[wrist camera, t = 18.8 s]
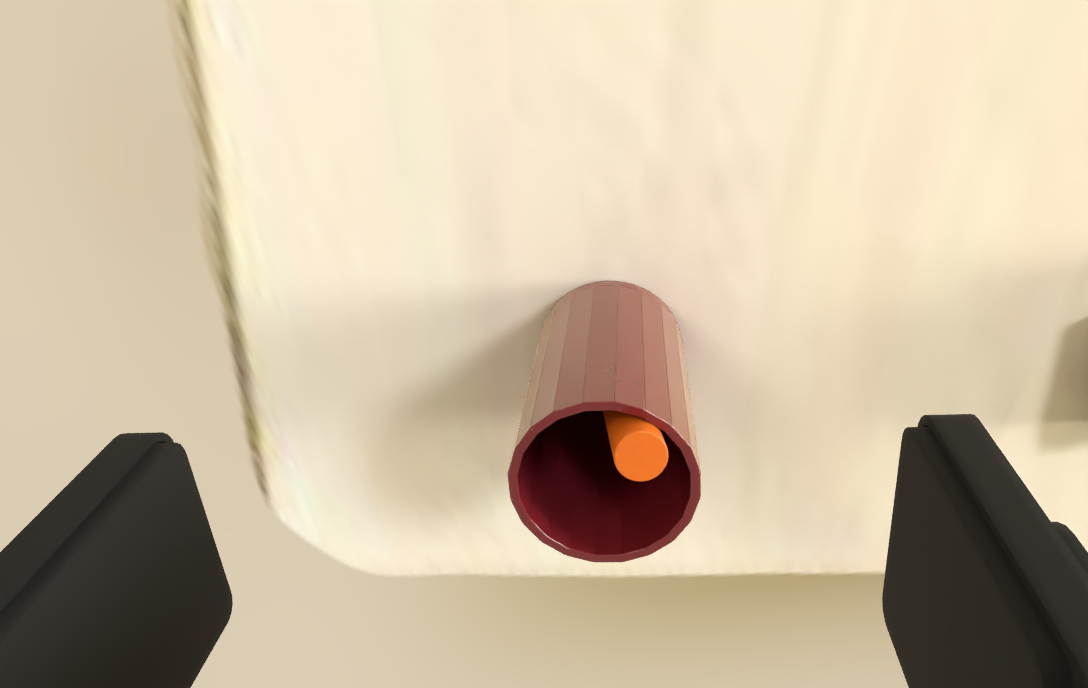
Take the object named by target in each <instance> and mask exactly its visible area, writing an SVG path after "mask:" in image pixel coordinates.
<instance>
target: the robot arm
mask: <svg viewBox="0 0 1088 688" xmlns="http://www.w3.org/2000/svg"><path fill="white" fill-rule="evenodd" d="M882 599H883V613H884V618H885V622H886V626H887V629H888V632H889V634H890V637H891V640H892V643H893V645H894V648H895V650H896V654H897V656H898V659H899V662H900V665H901V667H902V670H903V673H904V675H905V678H906V681H907V684H908V686H909V688H1088V552H1087V551H1086V550H1085V548H1084V547H1083V546H1082V544H1081V543H1080V541H1079V540H1078V539H1077V537H1076V536H1075V535H1074V534H1073V533H1072V531H1071V530H1070V529H1069V528H1068V527H1067V526H1066V525H1063V524H1061V523H1058V522H1051V521H1050V520H1049V519H1048V517H1047V516H1046V514H1045V513H1044V511H1043V510H1042V509H1041V507H1040V506H1039V504H1038V503H1037V501H1036V500H1035V499H1034V497H1033V496H1032V494H1031V493H1030V492H1029V490H1028V489H1027V487H1026V486H1025V484H1024V483H1023V482H1022V480H1021V479H1020V477H1019V476H1018V474H1017V473H1016V472H1015V470H1014V469H1013V467H1012V466H1011V464H1010V463H1009V462H1008V460H1007V459H1006V457H1005V456H1004V454H1003V453H1002V452H1001V450H1000V449H999V447H998V446H997V445H996V443H995V442H994V440H993V439H992V437H991V436H990V435H989V433H988V432H987V430H986V429H985V427H984V426H983V425H982V423H981V422H980V420H979V419H978V418H977V417H976V416H975V415H972V414H958V415H924V416H923V417H921V419H920V421H919V423H918V427H907V428H906V429H905V430H904V432H903V436H902V442H901V450H900V458H899V466H898V475H897V483H896V491H895V499H894V507H893V515H892V523H891V531H890V539H889V547H888V555H887V563H886V571H885V579H884V588H883V598H882ZM231 611H232V594H231V590H230V587H229V584H228V581H227V578H226V575H225V572H224V569H223V566H222V562H221V559H220V557H219V553H218V550H217V547H216V544H215V541H214V538H213V535H212V532H211V529H210V526H209V522H208V519H207V516H206V513H205V510H204V507H203V504H202V501H201V498H200V495H199V492H198V489H197V486H196V482H195V479H194V476H193V473H192V470H191V467H190V464H189V461H188V457H187V455H186V452H185V450H184V448H183V447H182V446H181V445H180V444H178V443H174V442H173V440H172V439H171V437H170V436H169V435H167V434H165V433H127V434H120V435H118V436H117V437H115V438H114V439H113V440H112V441H111V442H110V443H109V444H108V445H107V446H106V447H105V448H104V449H103V450H102V451H101V452H100V453H99V454H98V455H97V456H96V457H95V458H94V459H93V460H92V461H91V462H90V463H89V464H88V465H87V466H86V467H85V468H84V469H83V470H82V471H81V472H80V473H79V474H78V475H77V476H76V477H75V478H74V479H73V480H72V481H71V482H70V483H69V484H68V485H67V486H66V487H65V488H64V489H63V490H62V491H61V492H60V493H59V494H58V495H57V496H56V497H55V498H54V499H53V500H52V501H51V502H50V503H49V504H48V505H47V506H46V507H45V508H44V509H43V510H42V511H41V512H40V513H39V514H38V515H37V516H36V517H35V518H34V519H33V520H32V521H31V522H30V523H29V524H28V525H27V526H26V527H25V528H24V529H23V530H22V531H21V532H20V533H19V534H18V535H17V536H16V537H15V538H14V539H13V540H12V541H11V542H10V543H9V544H8V545H7V546H6V547H5V548H4V549H3V550H2V551H1V552H0V688H190V687H191V686H192V684H193V682H194V680H195V679H196V677H197V675H198V674H199V672H200V670H201V668H202V667H203V664H204V663H205V661H206V660H207V658H208V656H209V654H210V652H211V651H212V649H213V647H214V646H215V644H216V642H217V640H218V639H219V637H220V635H221V633H222V632H223V630H224V628H225V626H226V625H227V623H228V621H229V618H230V615H231Z"/></svg>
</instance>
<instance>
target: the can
mask: <svg viewBox="0 0 1088 688" xmlns="http://www.w3.org/2000/svg"><path fill="white" fill-rule="evenodd" d="M608 410H614V411H618V412H622V413H626V414H630V415H633V416H637V417H641V418H643V419H644V420H646V421H648V422H650V423H651V424H653V425H655V426H656V427H658V428H660V430H661V433H662V436H663V438H664V441H665V443H666V446H667V449H668V462H667V464H666V467H665V468H664V470H663V471H662V472H661V473H660V474H659V475H658V476H656V477H655V478H653V479H651V480H648V481H633V480H630V479H628V478H626V477H624V476H623V475H622V474H621V473H620V472H619V471H618V470H617V468H616V466H615V463H614V459H613V454H612V450H611V445H610V441H609V437H608V432H607V428H606V423H605V419H604V414H603V411H608ZM508 482H509V491H510V498H511V501H512V503H513V505H514V507H515V509H516V511H517V513H518V515H519V517H520V519H521V521H522V522H523V524H524V525H525V526H526V527H527V528H528V529H529V530H530V531H531V532H532V533H533V534H534V535H535V536H536V537H537V538H538V539H539V540H540V541H542V542H543V543H545V544H546V545H548V546H550V547H552V548H554V549H555V550H557V551H559V552H561V553H563V554H564V555H567V556H571V557H575V558H579V559H583V560H587V561H591V562H625V561H629V560H633V559H636V558H640V557H644V556H648V555H650V554H652V553H654V552H656V551H657V550H659V549H661V548H662V547H664V546H666V545H667V544H669V543H671V542H672V541H673V540H675V539H676V538H677V536H678V535H679V534H680V533H681V532H682V531H683V530H684V528H685V527H686V526H687V525H688V524H689V523H690V522H691V520H692V518H693V515H694V512H695V510H696V507H697V505H698V502H699V500H700V496H701V472H700V465H699V457H698V450H697V443H696V436H695V428H694V421H693V414H692V407H691V399H690V392H689V385H688V378H687V370H686V363H685V356H684V349H683V341H682V338H681V334H680V330H679V327H678V324H677V322H676V319H675V318H674V316H673V314H672V312H671V311H670V310H669V308H668V307H667V306H666V305H665V304H664V303H663V302H662V301H661V300H660V299H659V298H658V297H656V296H655V295H654V294H652V293H651V292H649V291H647V290H646V289H644V288H641V287H639V286H636V285H633V284H630V283H626V282H619V281H601V282H595V283H590V284H587V285H584V286H581V287H579V288H577V289H575V290H573V291H571V292H569V293H568V294H567V295H565V296H564V297H563V298H561V299H560V300H559V301H558V302H557V303H556V304H555V305H554V307H553V308H552V309H551V310H550V312H549V314H548V315H547V317H546V319H545V321H544V324H543V326H542V330H541V334H540V338H539V342H538V346H537V350H536V354H535V359H534V363H533V367H532V371H531V376H530V380H529V384H528V389H527V393H526V397H525V402H524V406H523V410H522V414H521V419H520V423H519V427H518V432H517V436H516V440H515V445H514V449H513V453H512V457H511V462H510V466H509V470H508Z"/></svg>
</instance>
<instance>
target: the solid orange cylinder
mask: <svg viewBox="0 0 1088 688" xmlns="http://www.w3.org/2000/svg"><path fill="white" fill-rule="evenodd" d="M603 414H604V419H605V423H606V428H607V432H608V437H609V441H610V445H611V450H612V454H613V459H614V463H615V466H616V468H617V470H618V471H619V472H620V473H621V474H622V475H623V476H624V477H626V478H628V479H630V480H633V481H648V480H651V479H653V478H655V477H656V476H658V475H659V474H660V473H661V472H662V471H663V470H664V468H665V467H666V464H667V462H668V449H667V446H666V443H665V441H664V438H663V436H662V433H661V430H660V428H658V427H656V426H655V425H653V424H651V423H650V422H648V421H646V420H644V419H643V418H641V417H637V416H633V415H630V414H626V413H622V412H618V411H614V410H608V411H603Z"/></svg>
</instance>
